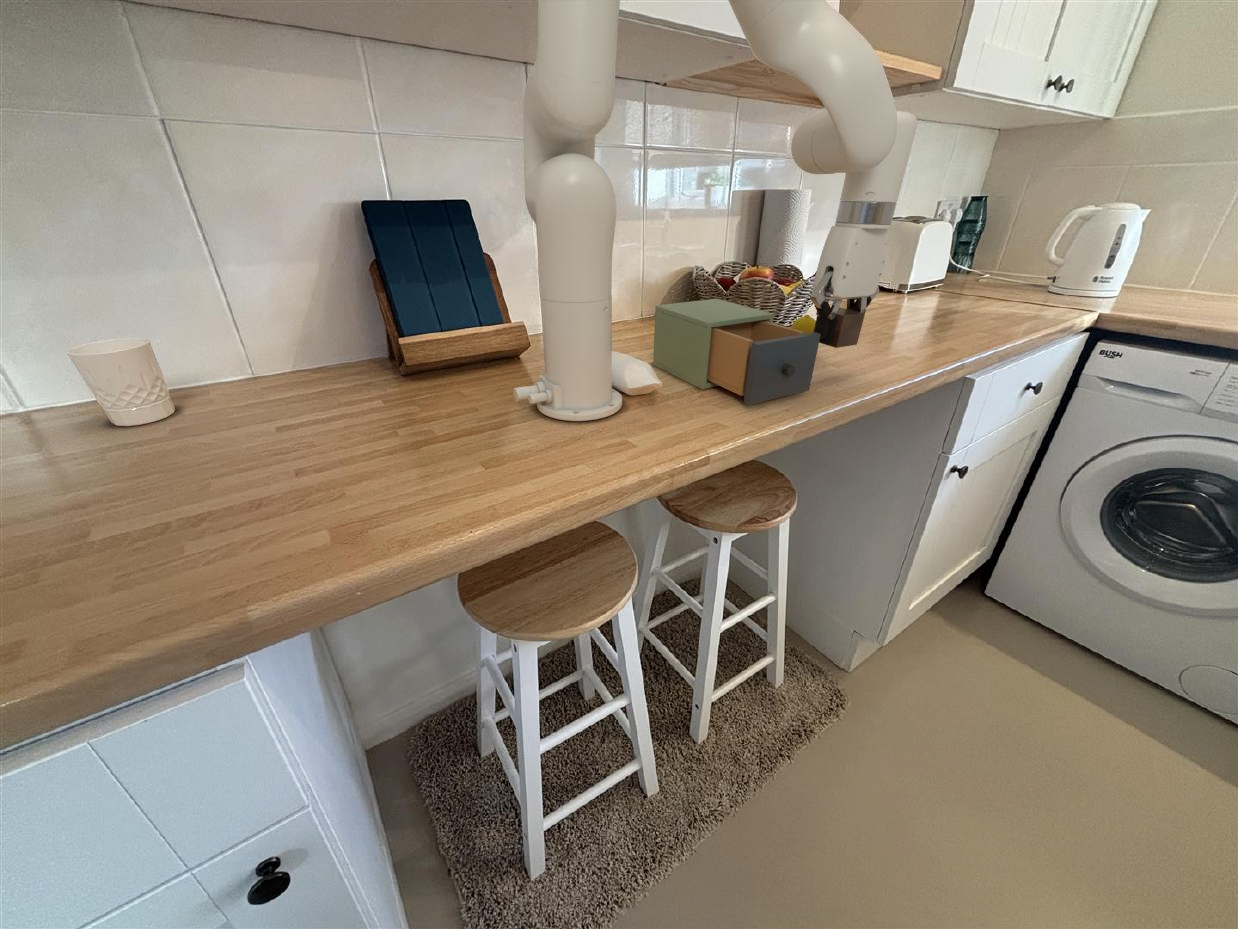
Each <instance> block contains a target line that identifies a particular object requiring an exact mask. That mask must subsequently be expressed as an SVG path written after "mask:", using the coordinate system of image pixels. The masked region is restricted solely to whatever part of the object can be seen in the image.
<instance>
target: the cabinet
mask: <svg viewBox="0 0 1238 929" xmlns="http://www.w3.org/2000/svg"><path fill="white" fill-rule="evenodd" d="M654 310H655V311H654V333H653V335H654V336H653V357H652V358H653V359H652V365H653V366H655V367H657V368H659V369H661V370H663V371H664V372H667V373H668V374H670V375H673V376H674V377H677V378H679V379H680V380H682V381H685V382H687V383H689V384H690V385H692V386H693V387H694V386H695V387H696V388H698V389H701V390H705V389H710V388H715V387H719V385H717V384H715V383H713V382H711V381H708V380H707V370H708V360H709V349H710V339H711V329H712V328H711V327H718V326H725V325H732V324H739V323H746V322H753V321H760V320H764V321H767V322H771V323H774V317H775V313H772V312H768V311H765V310H761V309H757V308H754V307H750V306H747V305H742V304H739V303H735V302H731V301H727V300H724V299H720V298H711V299H709V298H708V299H701V300H693V301H684V302H675V303H667V304H658V305H657V304H656V305H655V308H654Z"/></svg>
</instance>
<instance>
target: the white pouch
mask: <svg viewBox="0 0 1238 929" xmlns="http://www.w3.org/2000/svg"><path fill="white" fill-rule="evenodd" d="M662 387H663V383H662V381H661V380H660V379H659V377H658V376H657V372H656V371H655V370H654V368H653V367H652V366H651V365H650V363H648V362H646V361H644V360H642V359H639V358H636V357H634V356H632V355H629V354H627V353H623V352H619V351H616V350H612V388H613V389H615V390H617V391H620V392H622V393H624V394H627V395H628V396H640V395H648V394H649V393H652V392H653V391H655V390H656V389H660V388H662Z"/></svg>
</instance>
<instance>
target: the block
mask: <svg viewBox="0 0 1238 929" xmlns="http://www.w3.org/2000/svg"><path fill="white" fill-rule="evenodd" d="M865 317H866V313H862V312H857V311H853V310H849V309H847V308H844V307H841V306H840V307H839V309H838V312H837V314H836V316H835V318H834V319H837V324H836V328H835V332H834V336H833V340H832V344H831V345H826V344H824V345H825V346H829V347H832V348H835V349H838V348H844V347H852V346H857V345H858V342H859V339H860V336H861V331H862V327H863V324H864V319H865ZM815 321H816V323H815V327H814V332H815V330H816V326H817V321H818V316H817V315H816V319H815Z"/></svg>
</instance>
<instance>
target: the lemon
mask: <svg viewBox="0 0 1238 929" xmlns="http://www.w3.org/2000/svg"><path fill="white" fill-rule="evenodd" d="M815 323H816V319H815V318H813V317H811V315H809V314H805V315H804V316H801V317H799V318H797V319H795V320H794V321H793V322H792V324H791V326H790V328H792V329H795V330H799V331H802V332H804V334H807V333H813V332H814V327H815Z"/></svg>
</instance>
